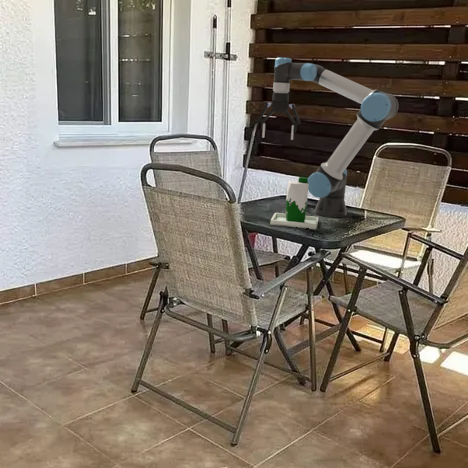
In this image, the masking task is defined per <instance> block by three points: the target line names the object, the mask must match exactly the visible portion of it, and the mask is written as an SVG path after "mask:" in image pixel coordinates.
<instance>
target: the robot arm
mask: <svg viewBox="0 0 468 468" xmlns="http://www.w3.org/2000/svg"><path fill="white" fill-rule="evenodd" d="M274 61H275V62H274V70H273V71H274V74H273V75H274V76H273V85H272V86H273V87H272V91H273V93H272V101H271V102H268V101H265V103H264V108H263V109H262V111H261V113H260V114H259V116H258V118H257V120H256V121H257V122H258V123H260V131H262V132H261V133H262V134H261V135H262V136H261V138H263V139H264V138H265V135H266V123H265V122H266V121H267V120H268V119H269V118H270V117H271V116H272V114H274V113H278V114H279V113H280V114H285V115H286V116H287V117H288V119H289V120H290V122H291V124H292V125H291V131H290V132H291V133H290V134H291V135H290V141H291V140H292V141H293V140H294V134H296V132H297V126H299V125H301V120H300V117H299V115H298V112H297V110H296V104H295V103H290V104H289V101H290V100H289V98H290V94H289V93H290V86H291V81H293V80H294V81H305V82H312V83H315V84H317V85H320V86H322V87H324V88H327V89H328V90H330V91H332V92H334V93H337V94H338V95H341V96H344V97H345V98H347V99H349V100H351V101H354V102H356V103H357V104H361V105H360V109H359V111H358V112H357V113H356V117H357V118H356V119H357V120H356V121H355V122H354V123H353V125H352V126H351V128H350V129H349V131H348V132H347V134H345V136H344V137H343V139H342V141H341V142H340V143H339V144H338V145H337V147H336V149H335V150H334V151H333V153H331V154H332V155H330V157H329V158H328V159H327V161H325V162H322V163H321V164H320V166H319V167H318V168H317V169H316V171H314V172H313V173H311V175H309V177H307V178H308V184H309V186H308V193H309V194H310V195H311V196H313V197H314V198H317V199H318V198H319V199H318V201H317V203H316V206H315V209H314V214H316V215H317V216H321V217H327V218H345V217H346V216H347V214H348V213H347V212H348V210H347V206H346V202H345V198H346V197H345V196H346V195H345V194H346V187H347V186H346V185H347V179H348V178H347V177H348V170H347V167H348V166H349V165H350V163H351V162H352V160H354V158H355V157H356V155H357V154H358V153H359V151H360V150H361V149H362V147H363V146H364V144H365V143H366V142H367V140H368V139H369V137H371V136H372V134H373V132H374V131H378V130H380V128H381V127H382V126H383V125H384V123H385V122H386V121H388V120H391V119H392V118H394V117H395V116H396V114H397V112H398V110H399V102H398V99H397V98H396V97H395V95H393V94H391V93H388V92H385V91H381V90H379V89H371V88H369V87H366V86H364V85H362V84H360V83H358V82H355V81H353V80H351V79H349V78H346V77H344V76H342V75H339V74H337V73H335V72H333V71H331V70H328V69H327V68H325V67H323V66H321V65H319V64H316V63H315V64H314V63H309V62H302V63H301V62H292V61H293V60H292V58H290V57H276V59H275V60H274ZM269 107H271V110H270V111H269V113H268V114H267V115H265V113H266V111H267V110H268V108H269ZM289 108H290V109H291V110H292V114H293V115H294V118H293V116H292V115H291V114H290V112H289V111H288V109H289ZM264 115H265V117H263V116H264ZM295 120H296V121H295Z"/></svg>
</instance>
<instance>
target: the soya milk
mask: <svg viewBox="0 0 468 468" xmlns="http://www.w3.org/2000/svg"><path fill="white" fill-rule="evenodd" d="M308 178H309V177H305V176H299V177H298V180H288V181H287V189H286V200H285V214H286V220H287V221H290V222H300V223H304V222H305V216H307V215H306V214H307V206H308V197H309V196H308V194H309V190H308V186H309V184H308Z"/></svg>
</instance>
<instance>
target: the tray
mask: <svg viewBox="0 0 468 468" xmlns="http://www.w3.org/2000/svg"><path fill="white" fill-rule="evenodd" d="M318 224H319V216H313V215H312V216H311V215H306V216H305V222H304V223H300V222H290V221H287V220H286V213H283V212H281V213H280V212H274V213H273V215H272V217H271V219H270V224H269V225H270V226H276V227H288V228H296V227H297V229H306V228H309V229H308V230H317V229H318V228H317V227H318Z"/></svg>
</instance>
